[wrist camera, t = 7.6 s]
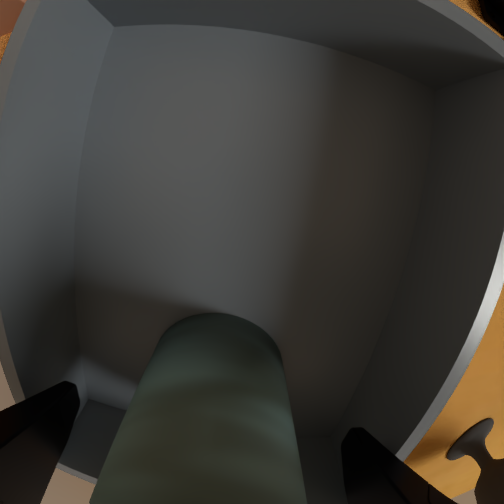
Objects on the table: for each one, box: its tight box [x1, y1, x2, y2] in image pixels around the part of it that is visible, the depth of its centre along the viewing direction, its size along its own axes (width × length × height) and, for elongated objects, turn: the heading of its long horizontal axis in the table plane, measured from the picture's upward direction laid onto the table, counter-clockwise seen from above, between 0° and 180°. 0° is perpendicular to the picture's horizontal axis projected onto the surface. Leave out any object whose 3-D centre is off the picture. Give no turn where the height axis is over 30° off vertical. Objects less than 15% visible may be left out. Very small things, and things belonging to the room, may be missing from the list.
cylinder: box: [89, 313, 307, 504], centre depth 7 cm, size 5×5×7 cm
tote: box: [0, 0, 504, 504], centre depth 8 cm, size 13×17×5 cm
